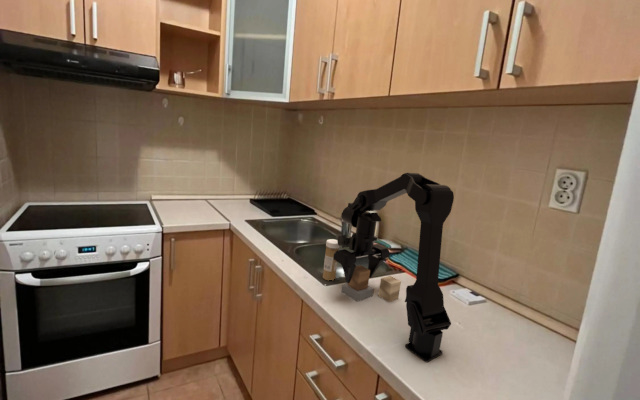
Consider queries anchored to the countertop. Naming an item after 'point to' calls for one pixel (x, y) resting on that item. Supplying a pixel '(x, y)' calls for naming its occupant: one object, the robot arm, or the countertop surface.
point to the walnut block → (360, 278)
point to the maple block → (389, 288)
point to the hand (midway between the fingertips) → (358, 280)
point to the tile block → (357, 292)
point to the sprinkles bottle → (330, 259)
